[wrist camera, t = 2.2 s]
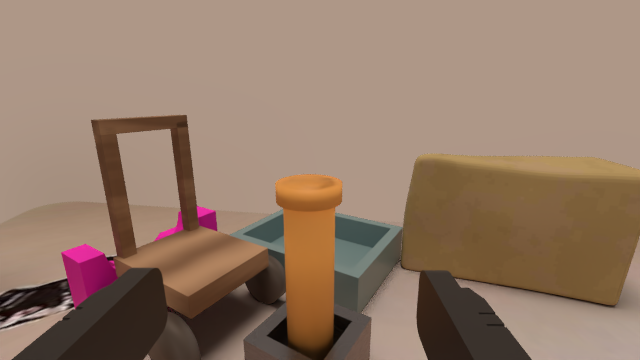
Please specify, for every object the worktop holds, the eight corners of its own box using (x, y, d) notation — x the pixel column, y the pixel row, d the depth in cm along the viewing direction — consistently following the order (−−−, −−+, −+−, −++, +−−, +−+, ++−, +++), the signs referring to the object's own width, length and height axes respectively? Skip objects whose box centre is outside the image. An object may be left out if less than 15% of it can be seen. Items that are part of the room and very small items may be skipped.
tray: (231, 267, 40) (228, 235, 39) (294, 228, 52) (294, 203, 50) (357, 317, 31) (358, 278, 30) (400, 257, 42) (402, 227, 41)
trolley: (101, 328, 30) (54, 121, 24) (208, 268, 40) (191, 113, 35) (186, 394, 23) (147, 130, 18) (288, 302, 33) (282, 117, 28)
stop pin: (271, 373, 24) (261, 185, 20) (303, 336, 27) (300, 171, 23) (319, 402, 21) (319, 197, 17) (348, 357, 25) (353, 179, 21)
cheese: (403, 288, 36) (413, 162, 32) (398, 249, 45) (406, 147, 41) (623, 312, 32) (666, 171, 28) (569, 263, 41) (595, 152, 37)
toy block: (190, 251, 45) (184, 202, 43) (220, 263, 42) (215, 211, 40) (66, 310, 32) (50, 245, 30) (95, 333, 29) (79, 263, 27)
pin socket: (247, 388, 24) (243, 339, 22) (300, 330, 29) (299, 289, 28) (326, 440, 20) (326, 385, 19) (369, 363, 26) (371, 317, 25)
